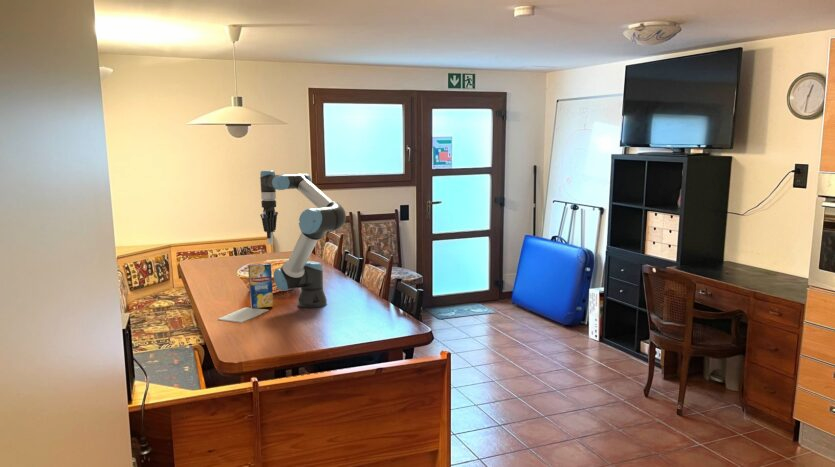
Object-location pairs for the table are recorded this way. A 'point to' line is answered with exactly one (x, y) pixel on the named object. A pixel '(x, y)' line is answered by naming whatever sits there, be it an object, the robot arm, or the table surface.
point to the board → (243, 315)
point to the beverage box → (260, 285)
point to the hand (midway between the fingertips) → (270, 244)
